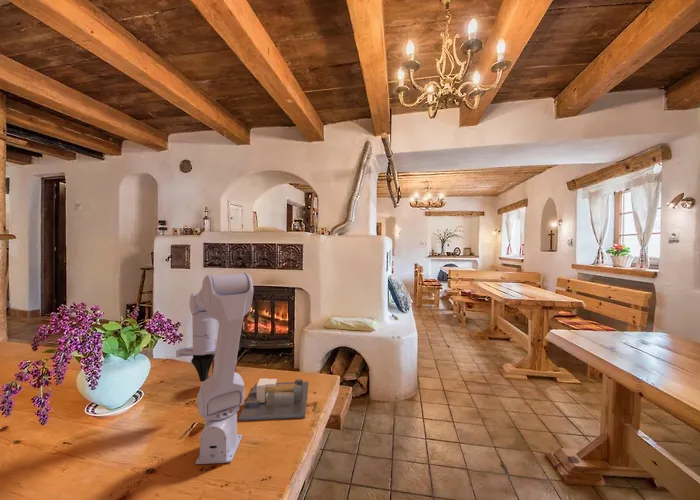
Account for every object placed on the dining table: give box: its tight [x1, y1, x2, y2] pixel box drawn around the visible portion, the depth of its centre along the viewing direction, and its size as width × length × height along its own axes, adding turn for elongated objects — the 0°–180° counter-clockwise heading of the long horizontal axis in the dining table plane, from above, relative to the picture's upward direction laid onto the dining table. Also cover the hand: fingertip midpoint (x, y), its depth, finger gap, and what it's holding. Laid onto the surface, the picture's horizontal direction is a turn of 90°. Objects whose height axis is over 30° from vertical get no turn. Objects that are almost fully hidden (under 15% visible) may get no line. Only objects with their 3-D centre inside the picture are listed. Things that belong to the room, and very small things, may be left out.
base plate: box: [238, 378, 309, 422], centre depth 94 cm, size 20×19×6 cm
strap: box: [265, 383, 300, 393], centre depth 94 cm, size 3×10×1 cm, turn 95°
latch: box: [256, 378, 278, 403], centre depth 93 cm, size 5×5×5 cm
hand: (203, 379), depth 87 cm, fingers closed
